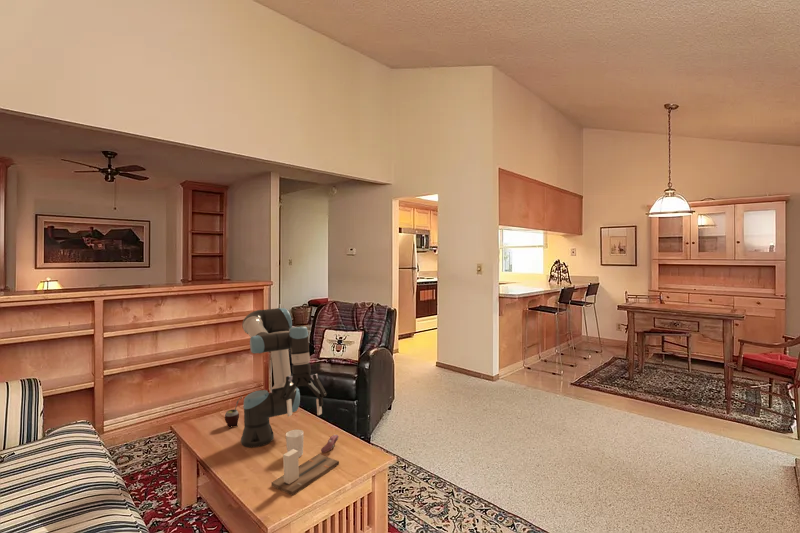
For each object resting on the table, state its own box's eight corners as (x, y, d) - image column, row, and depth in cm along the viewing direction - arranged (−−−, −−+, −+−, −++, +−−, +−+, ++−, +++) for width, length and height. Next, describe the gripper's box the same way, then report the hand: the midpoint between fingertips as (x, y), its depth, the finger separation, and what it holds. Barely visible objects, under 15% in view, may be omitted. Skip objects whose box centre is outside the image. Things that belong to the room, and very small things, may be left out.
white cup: (307, 451, 186) (306, 430, 185) (297, 460, 178) (297, 438, 178) (292, 449, 188) (292, 428, 188) (282, 457, 181) (282, 435, 181)
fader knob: (284, 481, 158) (283, 454, 158) (293, 475, 163) (293, 449, 162) (289, 484, 157) (288, 456, 156) (299, 478, 161) (298, 451, 161)
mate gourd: (222, 428, 213) (221, 400, 212) (231, 422, 221) (230, 395, 220) (234, 429, 211) (233, 401, 211) (243, 423, 219) (242, 395, 218)
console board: (271, 486, 159) (271, 482, 159) (319, 457, 181) (318, 453, 181) (292, 495, 152) (292, 491, 152) (339, 464, 174) (338, 460, 174)
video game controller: (328, 457, 184) (334, 444, 183) (319, 452, 184) (325, 439, 184) (335, 446, 193) (341, 434, 193) (327, 441, 194) (333, 429, 193)
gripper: (269, 366, 170) (273, 418, 168) (324, 362, 164) (328, 416, 162) (279, 363, 177) (282, 413, 175) (331, 360, 171) (335, 411, 169)
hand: (304, 415), depth 168 cm, fingers open, 13 cm apart
